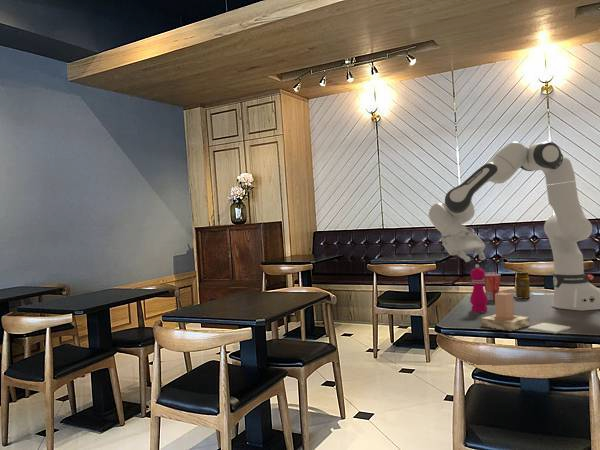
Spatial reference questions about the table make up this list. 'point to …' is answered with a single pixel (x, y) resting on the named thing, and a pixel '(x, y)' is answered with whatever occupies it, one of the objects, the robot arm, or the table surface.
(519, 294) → the condiment
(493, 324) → the pocket board
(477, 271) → the pepper mill
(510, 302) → the terracotta block
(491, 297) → the cup
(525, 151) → the robot arm
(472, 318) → the table surface
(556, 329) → the felt pad
